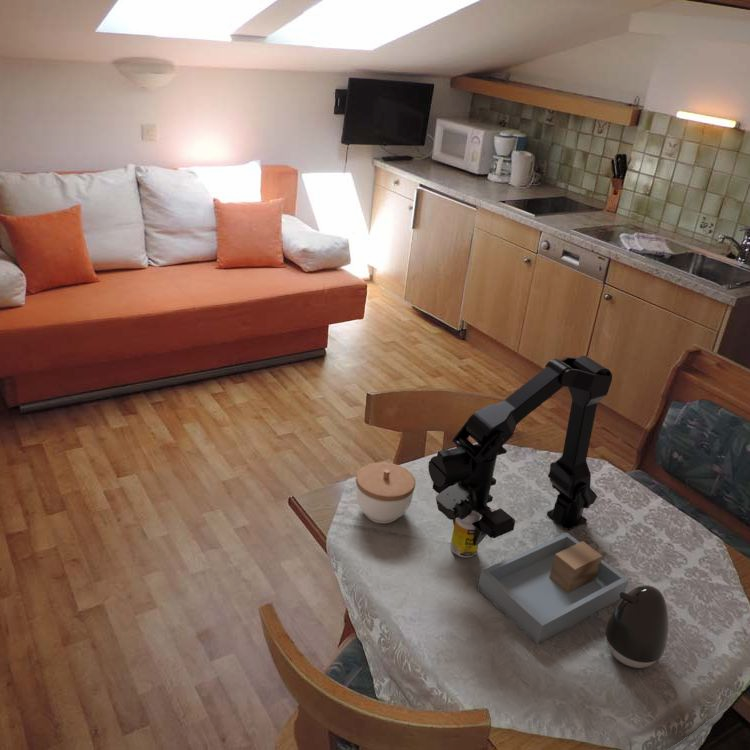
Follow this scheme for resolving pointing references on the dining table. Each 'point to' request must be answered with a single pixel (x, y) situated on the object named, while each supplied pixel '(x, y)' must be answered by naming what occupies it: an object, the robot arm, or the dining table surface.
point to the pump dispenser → (639, 627)
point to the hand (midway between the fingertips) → (466, 536)
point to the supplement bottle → (464, 536)
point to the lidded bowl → (384, 491)
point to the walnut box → (575, 566)
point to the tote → (547, 590)
